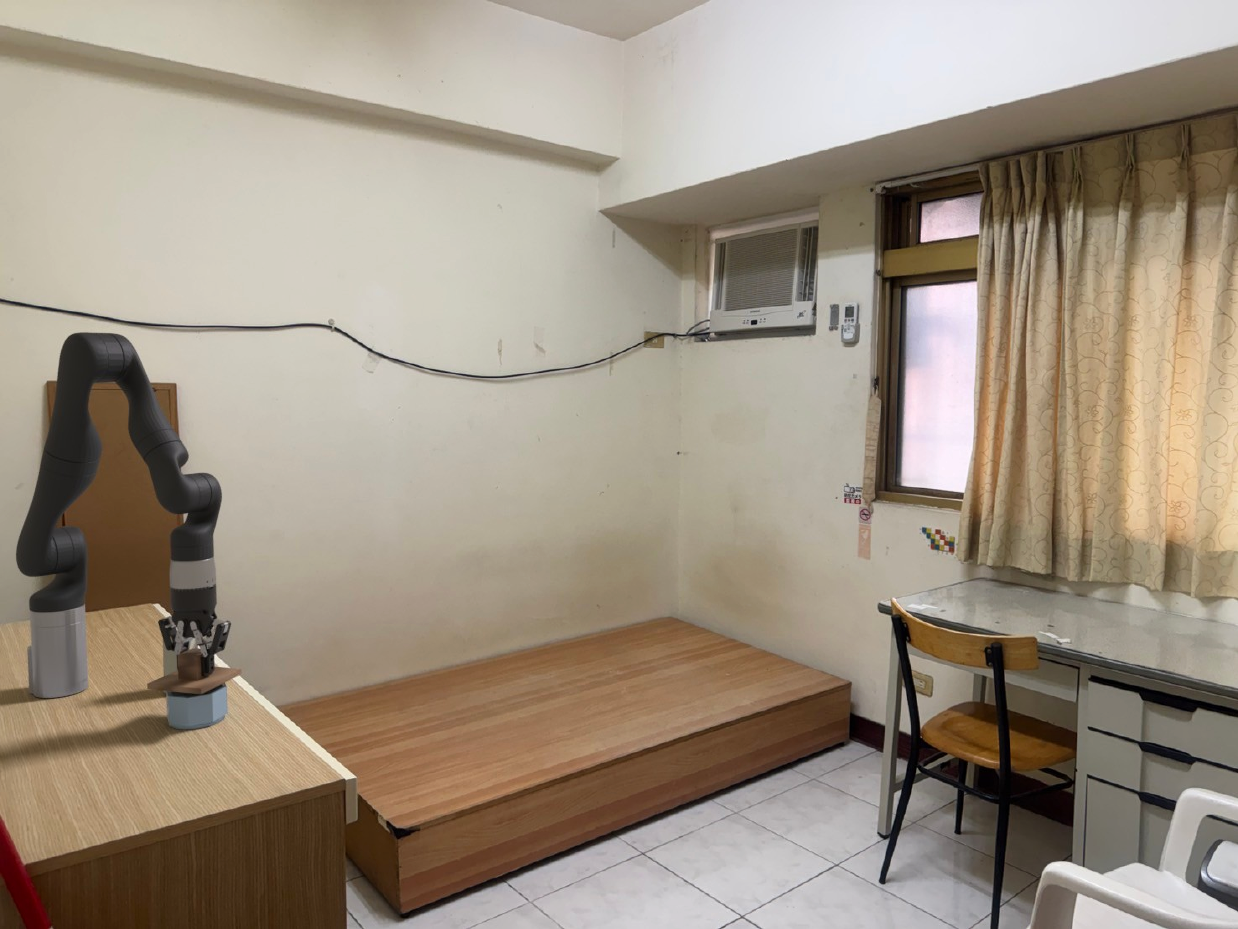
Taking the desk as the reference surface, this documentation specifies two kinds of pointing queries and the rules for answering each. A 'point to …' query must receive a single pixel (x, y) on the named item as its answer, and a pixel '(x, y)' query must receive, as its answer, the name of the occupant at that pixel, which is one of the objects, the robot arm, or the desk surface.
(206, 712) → the bowl
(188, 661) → the lid
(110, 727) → the desk surface
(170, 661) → the box
